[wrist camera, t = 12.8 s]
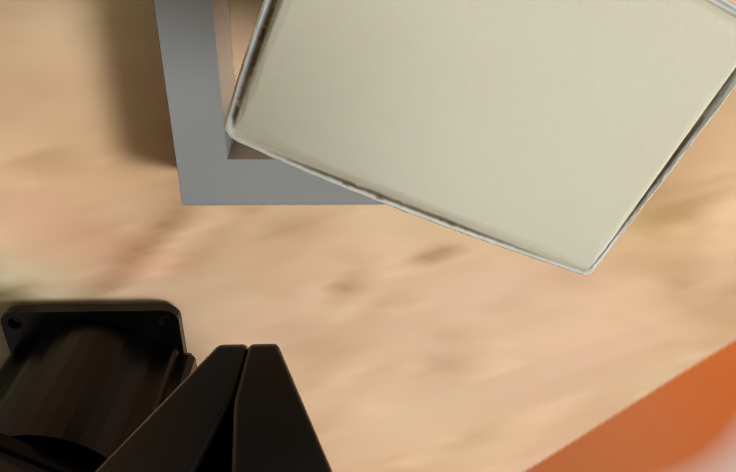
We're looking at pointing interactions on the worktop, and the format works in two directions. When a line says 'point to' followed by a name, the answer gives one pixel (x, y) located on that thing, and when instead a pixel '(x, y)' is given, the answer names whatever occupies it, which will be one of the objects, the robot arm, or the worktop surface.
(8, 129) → the worktop surface
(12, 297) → the worktop surface
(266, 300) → the worktop surface
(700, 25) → the skincare box
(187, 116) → the holder
